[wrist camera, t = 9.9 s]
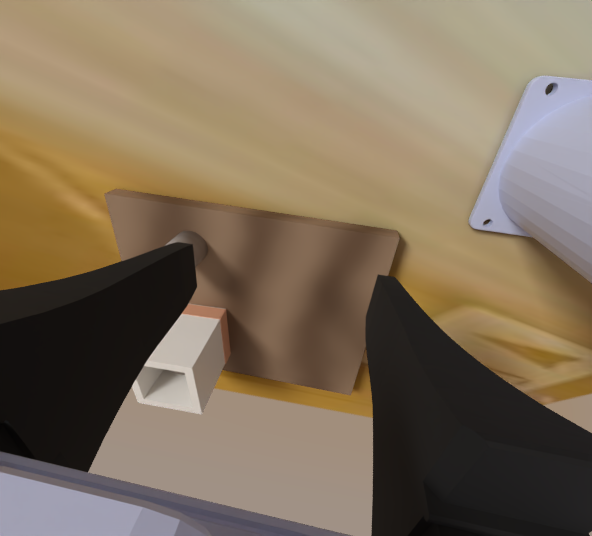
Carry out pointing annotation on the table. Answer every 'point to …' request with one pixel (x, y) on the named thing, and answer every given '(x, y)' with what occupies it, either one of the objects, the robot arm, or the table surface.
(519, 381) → the table surface
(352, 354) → the pin board
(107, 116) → the table surface
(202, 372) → the sleeve
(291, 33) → the table surface
